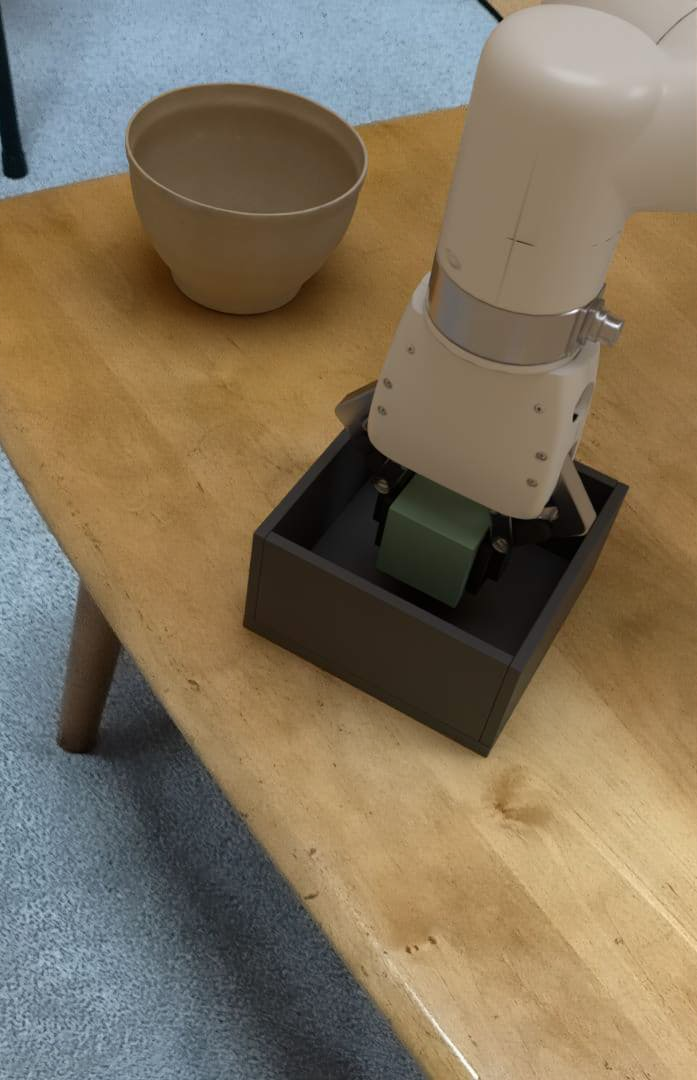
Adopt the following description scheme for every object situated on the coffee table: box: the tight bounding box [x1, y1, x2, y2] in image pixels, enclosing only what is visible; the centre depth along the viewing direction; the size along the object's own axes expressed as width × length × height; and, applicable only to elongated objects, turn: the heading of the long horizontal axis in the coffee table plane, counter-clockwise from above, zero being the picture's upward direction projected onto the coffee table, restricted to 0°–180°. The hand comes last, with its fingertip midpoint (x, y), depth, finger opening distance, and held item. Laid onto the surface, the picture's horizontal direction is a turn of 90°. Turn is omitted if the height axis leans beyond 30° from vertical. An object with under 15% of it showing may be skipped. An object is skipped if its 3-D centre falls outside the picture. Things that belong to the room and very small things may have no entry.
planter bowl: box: [124, 81, 369, 315], centre depth 86 cm, size 16×16×11 cm
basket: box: [242, 427, 630, 758], centre depth 70 cm, size 15×15×8 cm
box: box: [376, 473, 490, 608], centre depth 68 cm, size 5×5×5 cm
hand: (436, 552), depth 69 cm, fingers closed on box, 5 cm apart
